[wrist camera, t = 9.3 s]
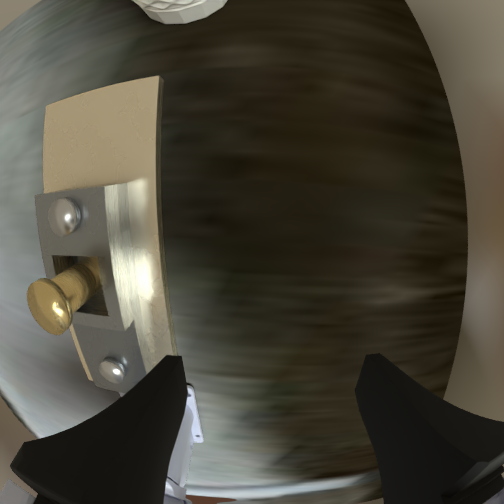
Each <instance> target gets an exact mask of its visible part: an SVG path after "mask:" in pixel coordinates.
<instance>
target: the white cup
mask: <svg viewBox="0 0 504 504" xmlns="http://www.w3.org/2000/svg"><path fill="white" fill-rule="evenodd" d="M132 1H134V2H135V3H136V4H138V5H139V6H140V7H141V8H142V9H143V10H144V11H145V13H146V14H147V15H148V16H149V17H150V18H151V19H153V20H156V21H159V22H161V23H164V24H186V23H189V22H192V21H196V20H199V19H202V18H206V17H208V16H209V15H211V14H212V13H214V12H215V11H217V10H218V9H220V8H222V7H223V6H224V5H225V3H226V2H227V0H132Z"/></svg>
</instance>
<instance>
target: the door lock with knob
mask: <svg viewBox="0 0 504 504" xmlns="http://www.w3.org/2000/svg"><path fill="white" fill-rule="evenodd" d="M163 87H164V80H163V79H162V78H161V77H160V76H154V77H148V78H143V79H137V80H132V81H128V82H123V83H119V84H114V85H110V86H106V87H102V88H99V89H95V90H92V91H88V92H85V93H81V94H78V95H75V96H72V97H69V98H66V99H63V100H60V101H58V102H55V103H52V104H50V105H47V106H46V112H45V123H44V140H43V184H44V194H39V195H35V204H36V215H37V224H38V232H39V239H40V245H41V251H42V257H43V262H44V267H45V272H46V276H47V279H50V280H51V279H53V278H54V277H56V276H57V275H59V274H60V273H62V272H63V271H65V270H66V269H68V268H70V267H71V266H73V265H74V264H76V263H78V262H79V261H81V260H82V259H84V258H86V257H87V256H95V257H97V259H98V265H99V271H100V277H101V282H102V288H101V289H100V290H99V291H98V292H97V293H95V294H94V295H93V296H92V297H91V298H90V299H89V300H88V301H86V302H85V303H84V304H83V305H82V306H81V307H80V308H79V309H78V310H77V311H76V312H74V313H73V320H72V324H71V326H70V327H69V328H70V331H71V334H72V337H73V340H74V343H75V346H76V349H77V351H78V354H79V357H80V359H81V362H82V364H83V367H84V369H85V372H86V374H87V376H88V379H89V380H91V381H94V384H95V386H96V387H99V388H103V389H107V390H112V391H116V392H120V393H125V394H126V393H127V392H128V391H129V390H130V389H132V388H133V387H134V386H135V385H136V384H137V383H138V382H139V381H140V380H141V379H142V378H143V377H145V376H146V375H147V374H148V373H149V372H150V371H151V370H152V369H153V368H154V367H155V366H156V365H157V364H158V363H159V362H160V361H161V360H162V359H163V358H164V357H165V356H166V355H175V356H178V354H177V348H176V342H175V336H174V329H173V322H172V315H171V307H170V299H169V291H168V282H167V272H166V261H165V250H164V236H163V219H162V195H161V125H162V102H163Z"/></svg>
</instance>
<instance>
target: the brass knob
mask: <svg viewBox="0 0 504 504" xmlns="http://www.w3.org/2000/svg"><path fill="white" fill-rule="evenodd" d="M101 288H102V282H101V277H100V271H99V265H98V259H97V257H95V256H87V257H86V258H84V259H82V260H81V261H79V262H78V263H76V264H74V265H73V266H71V267H70V268H68V269H66V270H65V271H63V272H62V273H60V274H59V275H57V276H56V277H54V278H53V279H51V280H50V279H47V278H40V279H38V280H37V281H35V282H34V283H32V284H31V285H30V286H29V288H28V291H27V301H28V305H29V308H30V311H31V313H32V315H33V317H34V318H35V320H36V321H37V323H38V324H39V325H40V326H41V327H42V328H43V329H44V330H46V331H47V332H49V333H51V334H54V335H61V334H63V333H64V332H65V331H66V330H67V329H68V328H69V327H70V326H71V324H72V320H73V313H74V312H76V311H77V310H78V309H79V308H80V307H81V306H82V305H83V304H84V303H85V302H86V301H88V300H89V299H90V298H91V297H92V296H93V295H94V294H95V293H97V292H98V291H99V290H100V289H101Z"/></svg>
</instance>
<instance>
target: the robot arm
mask: <svg viewBox="0 0 504 504" xmlns="http://www.w3.org/2000/svg"><path fill="white" fill-rule="evenodd" d="M188 393H189V394H188ZM355 393H356V398H357V403H358V407H359V411H360V413H361V416H362V419H363V422H364V424H365V427H366V430H367V432H368V435H369V437H370V440H371V443H372V446H373V448H374V451H375V454H376V458H377V462H378V467H379V471H380V477H381V483H382V490H383V499H384V504H504V478H503V477H502V475H501V474H502V473H503V472H504V467H503V466H502V465H503V464H504V422H501V421H495V420H492V419H488V418H484V417H481V416H478V415H475V414H473V413H470V412H468V411H465V410H463V409H460V408H458V407H456V406H454V405H452V404H450V403H448V402H447V401H445V400H443V399H441V398H440V397H438V396H436V395H435V394H433V393H432V392H430V391H429V390H427V389H426V388H424V387H423V386H421V385H420V384H419V383H417V382H416V381H415V380H413V379H412V378H411V377H409V376H408V375H407V374H405V373H404V372H403V371H402V370H400V369H399V368H398V367H397V366H395V365H394V364H393V363H392V362H390V361H389V360H388V359H386V358H385V357H384V356H382V355H381V354H380V353H378V354H370V355H366V357H365V360H364V364H363V367H362V370H361V373H360V376H359V379H358V382H357V385H356V388H355ZM119 394H120V396H121V398H119V399H118V400H117V401H116V402H114V403H113V404H112V405H110V406H109V407H107V408H106V409H105V410H103V411H101V412H100V413H98V414H97V415H95V416H93V417H92V418H90V419H88V420H86V421H84V422H82V423H80V424H78V425H76V426H74V427H72V428H70V429H67V430H65V431H62V432H60V433H57V434H54V435H51V436H48V437H44V438H41V439H37V440H32V441H28V442H24V443H23V445H22V447H21V448H20V450H19V452H18V453H17V455H16V456H15V458H14V460H13V461H12V463H11V465H10V467H11V469H12V471H13V472H14V473H15V474H16V475H17V476H18V477H19V478H20V479H21V480H23V481H24V482H25V483H26V484H27V485H29V486H30V487H31V488H32V489H33V490H35V491H36V492H37V493H38V495H37V497H36V498H35V497H34V496H32V495H31V494H29V493H28V492H27V491H25V490H24V489H22V488H21V487H19V486H18V485H17V484H15V483H14V482H12V481H11V480H10V479H8V480H7V482H6V484H5V486H4V488H3V490H2V491H1V493H0V504H193V503H192V502H191V501H190V500H188V499H186V498H185V496H186V491H187V490H186V489H185V488H183V487H184V485H185V483H186V481H187V476H188V471H189V466H190V461H191V456H192V450H193V445H194V442H198V443H202V442H203V440H204V438H203V433H202V429H201V424H200V419H199V414H198V409H197V404H196V398H195V393H194V389H193V387H192V386H189V385H187V383H186V378H185V372H184V367H183V361H182V356H175V355H166V356H165V357H164V358H163V359H162V360H161V361H160V362H159V363H158V364H157V365H156V366H155V367H154V368H153V369H152V370H151V371H150V372H149V373H148V374H147V375H146V376H145V377H143V378H142V379H141V380H140V381H139V382H138V383H137V384H136V385H135V386H134V387H133V388H132V389H130V390H129V391H128V392H127V393H126V394H125V393H120V392H119Z"/></svg>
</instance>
